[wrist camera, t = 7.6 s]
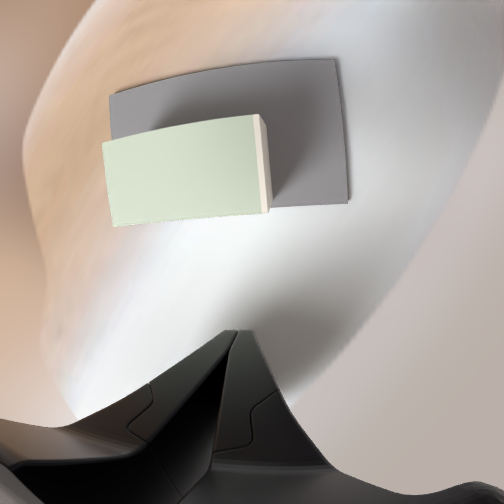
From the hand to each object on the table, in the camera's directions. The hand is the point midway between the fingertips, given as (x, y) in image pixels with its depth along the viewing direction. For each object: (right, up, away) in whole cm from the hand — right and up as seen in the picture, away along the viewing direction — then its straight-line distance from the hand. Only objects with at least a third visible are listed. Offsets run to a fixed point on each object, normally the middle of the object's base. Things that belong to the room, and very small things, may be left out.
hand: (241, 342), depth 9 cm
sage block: (+1, +8, +8) cm, 11 cm away
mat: (-2, +10, +11) cm, 15 cm away
